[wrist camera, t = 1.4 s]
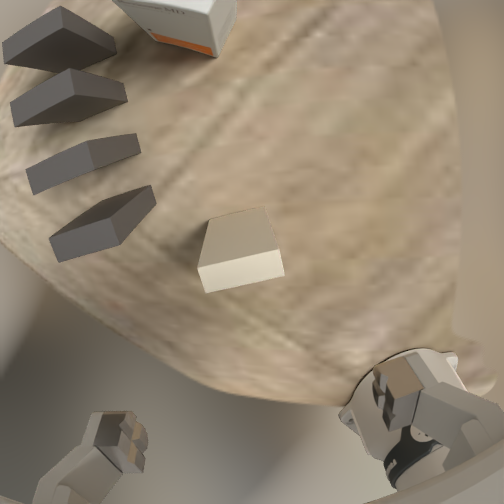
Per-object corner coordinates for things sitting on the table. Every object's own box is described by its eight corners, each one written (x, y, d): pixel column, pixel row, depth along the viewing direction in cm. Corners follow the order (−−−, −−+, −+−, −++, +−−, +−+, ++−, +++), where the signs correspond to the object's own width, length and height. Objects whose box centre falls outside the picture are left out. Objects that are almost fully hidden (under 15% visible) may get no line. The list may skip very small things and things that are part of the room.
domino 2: (127, 101, 24) (74, 94, 15) (79, 121, 24) (14, 127, 15) (123, 83, 23) (69, 68, 14) (75, 103, 23) (9, 102, 14)
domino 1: (116, 53, 22) (63, 27, 13) (69, 75, 22) (4, 63, 13) (113, 37, 21) (60, 5, 12) (66, 59, 22) (2, 42, 12)
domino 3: (141, 152, 26) (94, 169, 17) (92, 169, 26) (33, 195, 17) (136, 133, 25) (86, 140, 16) (87, 151, 25) (25, 169, 16)
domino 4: (156, 203, 28) (120, 245, 18) (108, 218, 28) (58, 262, 19) (150, 184, 27) (109, 217, 18) (102, 200, 27) (48, 238, 18)
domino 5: (269, 224, 29) (284, 275, 20) (214, 237, 29) (205, 293, 20) (264, 205, 28) (279, 249, 19) (209, 219, 28) (197, 268, 19)
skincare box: (153, 42, 22) (101, -4, 11) (173, 1, 21) (136, -63, 10) (219, 60, 23) (208, 16, 12) (238, 19, 22) (241, -46, 11)
